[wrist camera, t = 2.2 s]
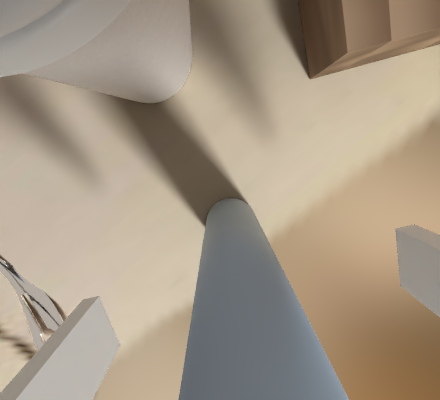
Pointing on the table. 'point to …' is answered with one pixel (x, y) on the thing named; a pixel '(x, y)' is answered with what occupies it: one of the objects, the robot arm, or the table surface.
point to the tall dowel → (250, 321)
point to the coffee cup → (100, 44)
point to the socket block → (365, 31)
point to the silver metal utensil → (39, 301)
